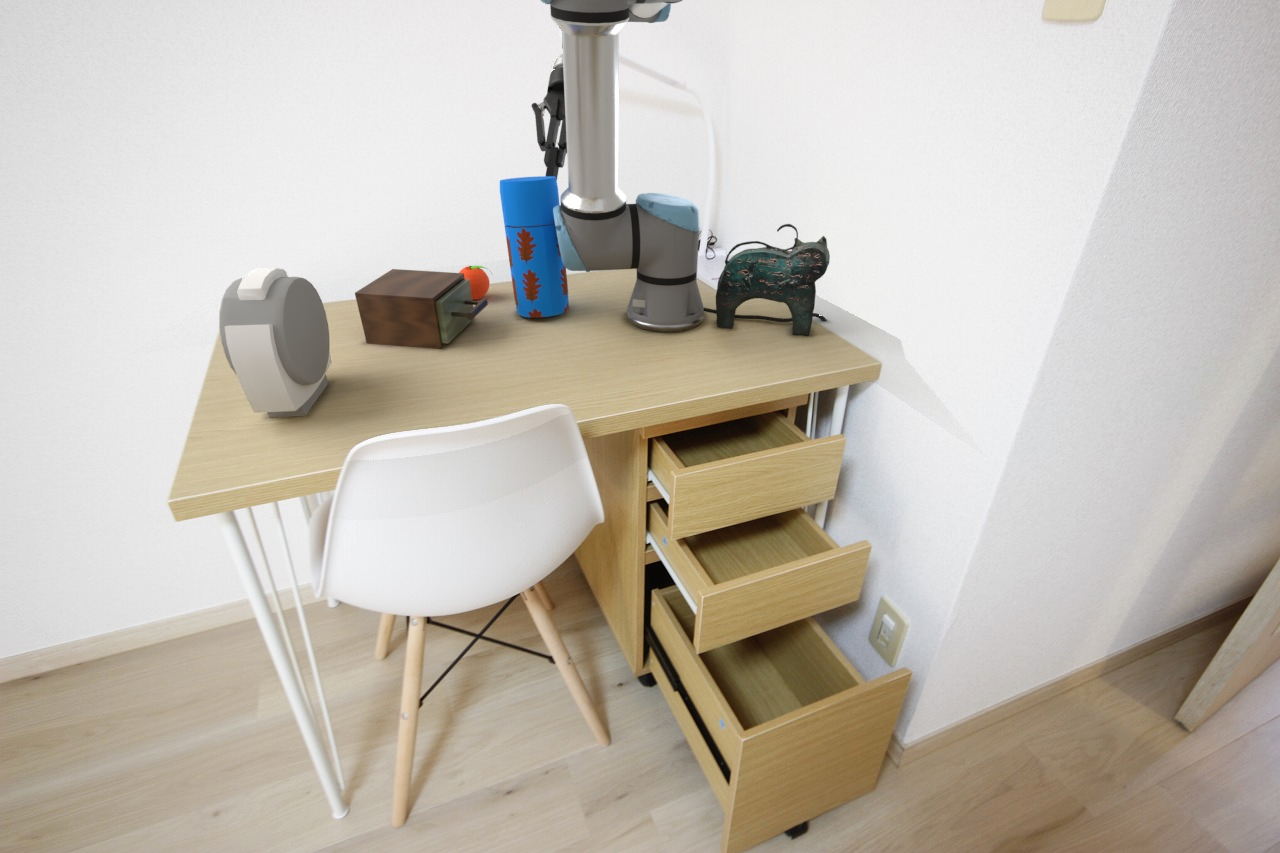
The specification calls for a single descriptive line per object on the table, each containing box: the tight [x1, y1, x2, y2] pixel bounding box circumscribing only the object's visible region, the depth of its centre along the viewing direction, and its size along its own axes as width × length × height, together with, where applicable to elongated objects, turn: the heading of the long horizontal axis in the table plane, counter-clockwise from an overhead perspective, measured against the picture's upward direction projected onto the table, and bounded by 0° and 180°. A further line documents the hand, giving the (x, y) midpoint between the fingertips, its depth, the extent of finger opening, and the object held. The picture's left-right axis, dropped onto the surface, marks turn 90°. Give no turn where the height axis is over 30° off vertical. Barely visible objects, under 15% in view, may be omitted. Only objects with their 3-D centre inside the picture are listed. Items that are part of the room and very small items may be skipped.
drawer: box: [435, 279, 489, 344], centre depth 120 cm, size 18×12×8 cm
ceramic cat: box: [715, 223, 831, 337], centre depth 119 cm, size 20×6×20 cm, turn 77°
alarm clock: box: [218, 267, 332, 418], centre depth 95 cm, size 18×8×20 cm, turn 5°
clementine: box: [458, 265, 494, 301], centre depth 136 cm, size 8×7×7 cm
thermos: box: [499, 175, 570, 319], centre depth 125 cm, size 11×11×25 cm
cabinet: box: [354, 268, 465, 350], centre depth 120 cm, size 15×14×10 cm
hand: (550, 179), depth 128 cm, fingers closed
